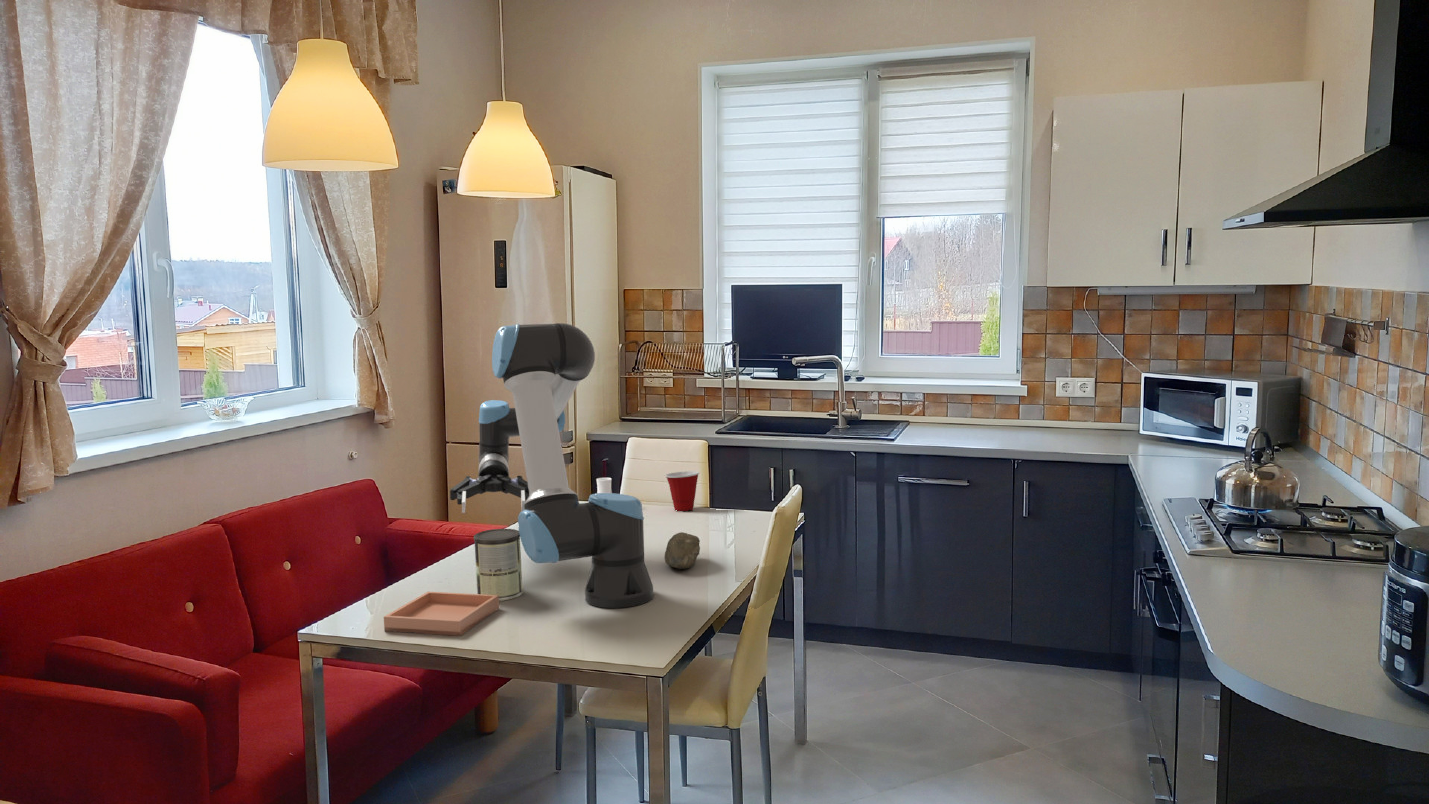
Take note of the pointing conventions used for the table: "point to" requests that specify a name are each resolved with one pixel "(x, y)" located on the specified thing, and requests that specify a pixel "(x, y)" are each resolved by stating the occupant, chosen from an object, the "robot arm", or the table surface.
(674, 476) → the plastic cup
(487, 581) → the coffee can
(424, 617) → the terracotta dish
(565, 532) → the robot arm
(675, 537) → the stone
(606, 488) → the vase
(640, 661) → the table surface
